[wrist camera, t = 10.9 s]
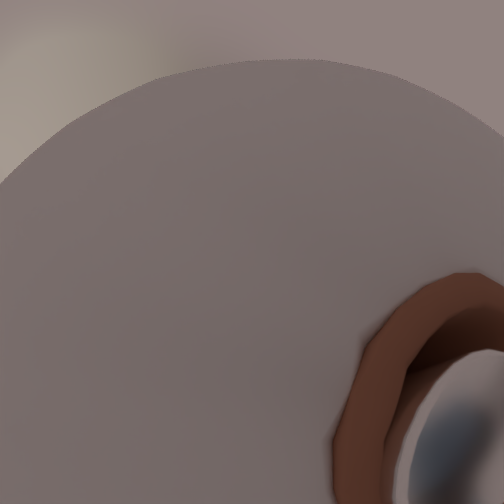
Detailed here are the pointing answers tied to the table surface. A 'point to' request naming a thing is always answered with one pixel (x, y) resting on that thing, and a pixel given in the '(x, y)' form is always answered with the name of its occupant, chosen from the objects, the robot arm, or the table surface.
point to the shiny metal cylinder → (256, 296)
